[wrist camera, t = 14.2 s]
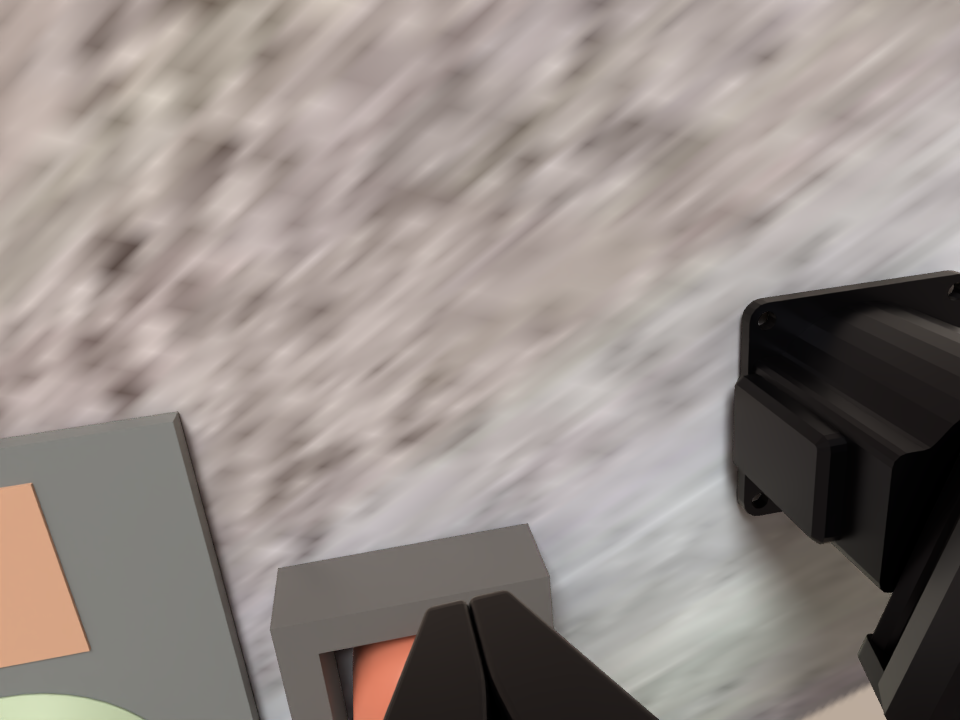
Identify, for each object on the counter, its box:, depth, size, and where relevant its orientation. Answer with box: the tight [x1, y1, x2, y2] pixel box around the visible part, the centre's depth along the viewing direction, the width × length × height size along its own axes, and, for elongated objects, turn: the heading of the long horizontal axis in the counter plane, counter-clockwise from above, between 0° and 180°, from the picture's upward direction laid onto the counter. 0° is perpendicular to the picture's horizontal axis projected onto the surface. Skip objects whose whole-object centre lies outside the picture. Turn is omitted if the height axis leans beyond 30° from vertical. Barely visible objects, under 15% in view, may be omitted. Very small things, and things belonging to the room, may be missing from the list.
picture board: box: [0, 412, 259, 720], centre depth 20 cm, size 12×15×1 cm
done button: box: [353, 635, 416, 720], centre depth 21 cm, size 4×4×3 cm
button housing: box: [270, 523, 554, 720], centre depth 21 cm, size 7×7×2 cm
